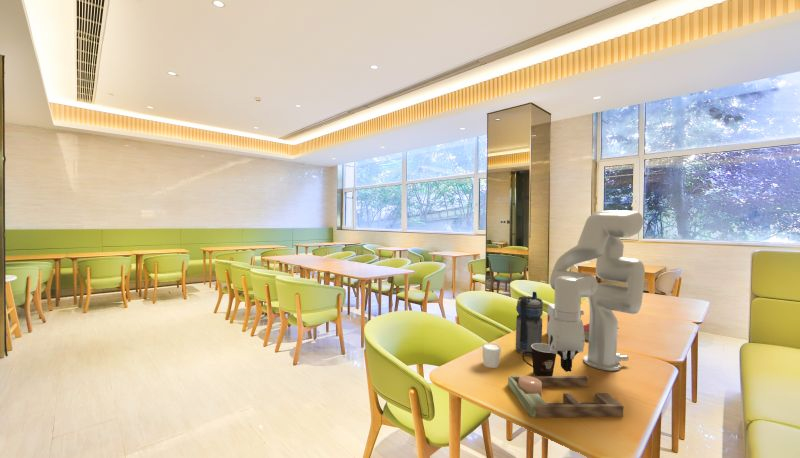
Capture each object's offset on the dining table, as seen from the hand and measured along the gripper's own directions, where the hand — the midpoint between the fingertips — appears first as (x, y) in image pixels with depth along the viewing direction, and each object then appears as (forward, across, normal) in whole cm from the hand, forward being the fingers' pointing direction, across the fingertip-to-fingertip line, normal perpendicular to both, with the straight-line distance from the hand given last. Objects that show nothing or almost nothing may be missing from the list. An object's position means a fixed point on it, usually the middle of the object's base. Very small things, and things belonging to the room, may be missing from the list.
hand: (566, 369), depth 112 cm
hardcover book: (+12, -43, -52) cm, 69 cm away
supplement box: (+11, -24, -49) cm, 56 cm away
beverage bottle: (+9, -1, -32) cm, 33 cm away
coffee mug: (+8, +3, -12) cm, 15 cm away
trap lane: (+7, +4, +4) cm, 9 cm away
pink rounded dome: (+7, +13, +1) cm, 15 cm away
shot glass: (+8, +18, -21) cm, 29 cm away
